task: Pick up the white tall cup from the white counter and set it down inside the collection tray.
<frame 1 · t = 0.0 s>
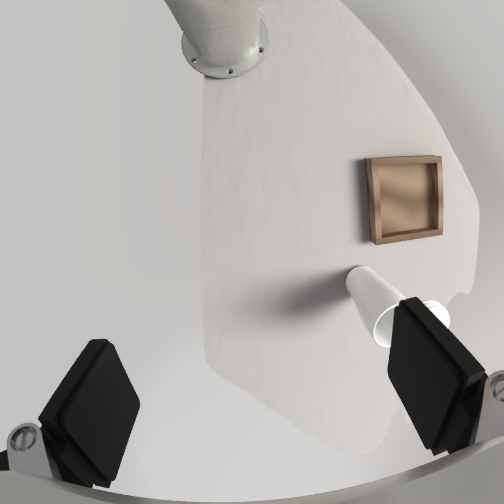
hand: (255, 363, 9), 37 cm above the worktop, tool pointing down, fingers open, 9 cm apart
tray: (403, 196, 44), on the worktop
white cup lid: (421, 321, 52), on the worktop
white tall cup: (359, 278, 49), on the worktop
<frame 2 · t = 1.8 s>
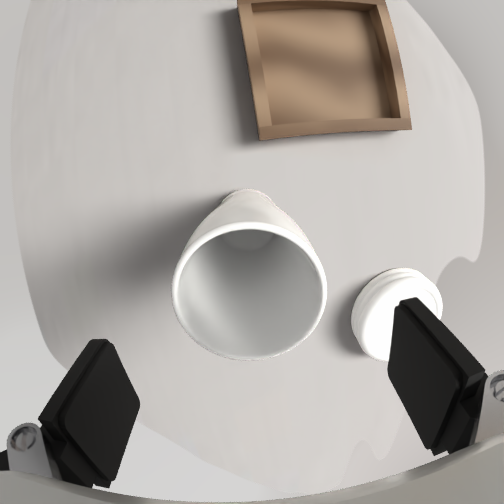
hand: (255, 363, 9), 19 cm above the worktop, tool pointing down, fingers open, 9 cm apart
tray: (322, 63, 22), on the worktop
white cup lid: (390, 307, 31), on the worktop
white tall cup: (247, 217, 27), on the worktop
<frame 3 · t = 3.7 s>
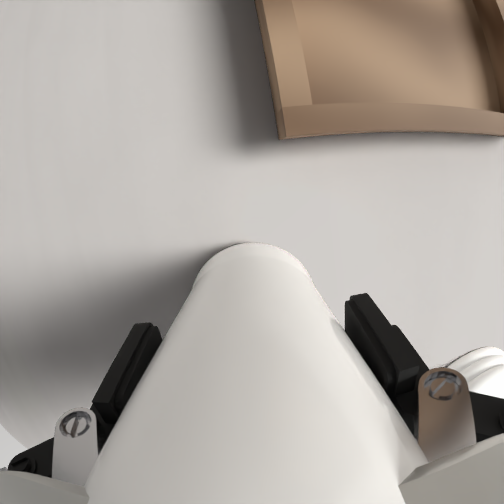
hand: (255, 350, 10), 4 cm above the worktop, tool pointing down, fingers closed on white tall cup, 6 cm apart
tray: (392, 5, 9), on the worktop
white cup lid: (455, 394, 18), on the worktop
white tall cup: (253, 293, 14), on the worktop, touching gripper
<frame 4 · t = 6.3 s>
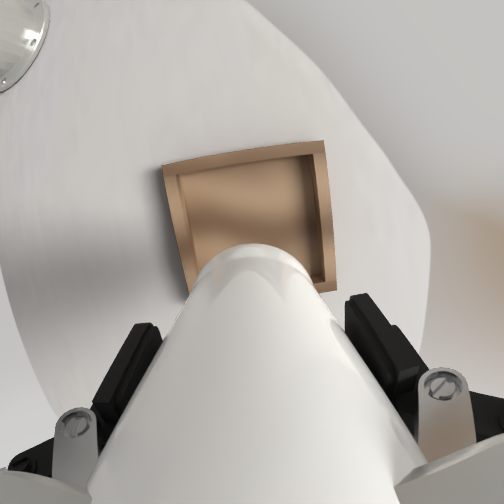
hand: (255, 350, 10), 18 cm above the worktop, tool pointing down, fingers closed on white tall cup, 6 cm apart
tray: (253, 223, 27), on the worktop
white tall cup: (253, 294, 14), point 14 cm above the worktop, touching gripper
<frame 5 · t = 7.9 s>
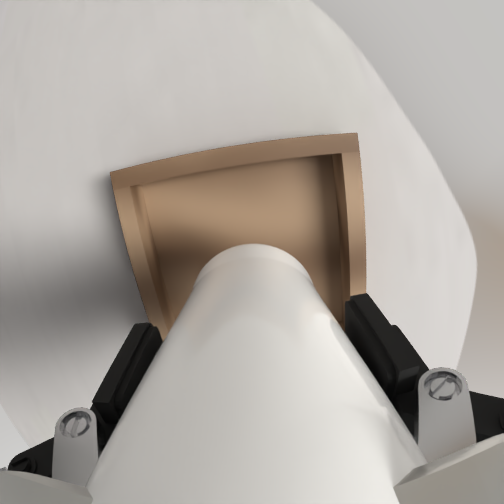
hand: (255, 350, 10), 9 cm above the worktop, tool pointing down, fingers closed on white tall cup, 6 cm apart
tray: (249, 254, 19), on the worktop
white tall cup: (253, 294, 14), point 5 cm above the worktop, touching gripper
when the fingers open (6 cm above the worktop, at t = 9.0 s): white tall cup drops 1 cm, resting on tray.
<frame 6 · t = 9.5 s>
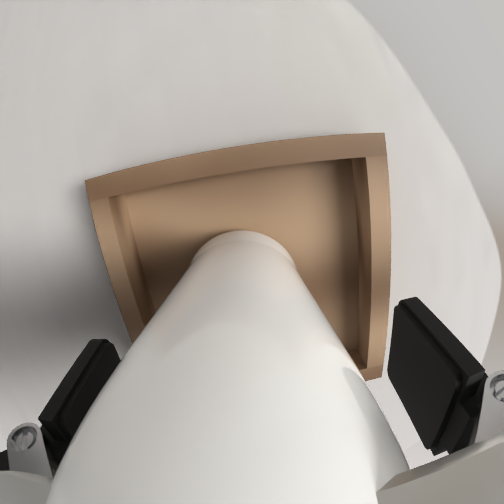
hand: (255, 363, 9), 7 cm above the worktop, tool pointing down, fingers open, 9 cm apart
tray: (252, 275, 16), on the worktop
white tall cup: (242, 277, 15), resting on tray
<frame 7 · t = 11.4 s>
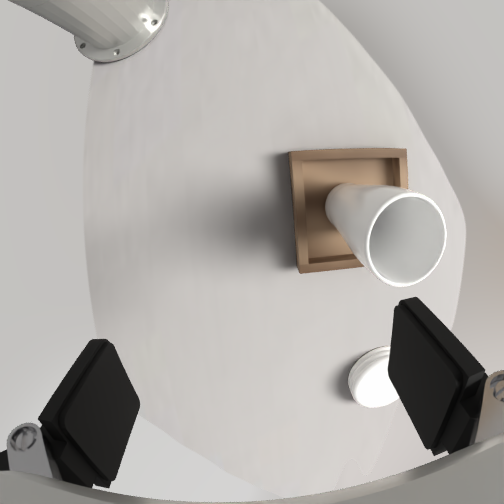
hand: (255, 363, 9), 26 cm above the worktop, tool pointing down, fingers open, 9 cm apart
tray: (349, 206, 33), on the worktop
white cup lid: (377, 370, 41), on the worktop
white tall cup: (346, 205, 33), resting on tray
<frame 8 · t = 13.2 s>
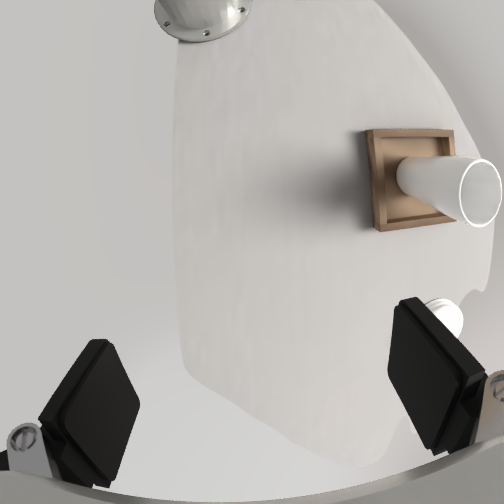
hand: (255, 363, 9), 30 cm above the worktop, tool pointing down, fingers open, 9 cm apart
tray: (411, 176, 37), on the worktop
white cup lid: (431, 322, 45), on the worktop
white tall cup: (410, 175, 36), resting on tray
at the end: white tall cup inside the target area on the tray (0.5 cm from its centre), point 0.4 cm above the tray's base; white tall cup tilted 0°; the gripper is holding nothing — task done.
